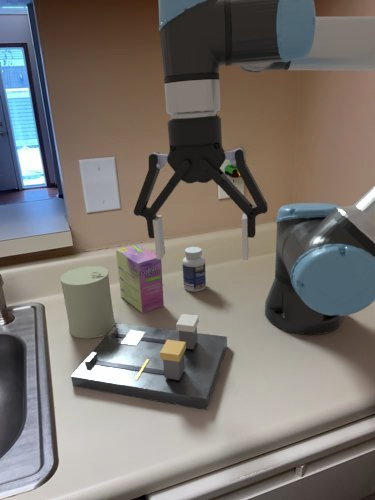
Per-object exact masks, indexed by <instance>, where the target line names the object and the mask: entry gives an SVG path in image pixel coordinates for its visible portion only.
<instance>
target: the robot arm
mask: <svg viewBox="0 0 375 500" xmlns="http://www.w3.org/2000/svg"><path fill="white" fill-rule="evenodd" d="M316 15H317V13H316V6H315V1H314V0H158V21H159V27H158V32H159V40H160V42H159V43H160V50H161V51H160V52H161V60H162V61H161V62H162V72H163V83H164V95H165V97H164V98H165V110H166V114H167V115H169V116H170V117H171V118H169V119H168V121H167V132H168V142H169V143H168V144H169V145H168V146H169V151H168V154H166V153H161V152H158V151H155V152H153V153H151V154H149V156H148V169H147V173H146V175H145V179H144V181H143V184H142V187H141V190H140V192H139V195H138V197H137V198H138V199H137V200H136V203H135V206H134V209H133V214H134V215H135V216H138V217H139V216H140V217H142V218H144V219H145V220H146V225H147V235H148V237H149V239H154V248H155V254H156V257H157V259H160V260H161V261H162V259H163V258H164V256H165V254H166V247H165V245H166V244H165V236H164V228H163V215H158V212H159V211H160V209H161V208H162V207H163V205H164V204H165V202H166V201H167V200H168V199H169V197H170V196H171V194H172V193H173V192H174V190H175V189H176V188H177V186H178V185H179V184H180V182H181V181H182V182H184V183H186V184H193V183H201V184H208V183H209V182H210V181H213V182H214V183H215V185H217V186H218V187H220V188H221V190H223V191H224V193H225V194H226V195H228V197H229V198H230V199H231V200H232V201H233V202H234V203H235V205H236V206H237V207H238V208H239V209H240V210H241V211H242V212H243V213H242V216H241V235H242V236H241V239H242V241H241V243H242V245H241V246H242V260H243V261H248V260H249V238H252V239H253V238H255V236H256V217H257V216H259V215H261V214H266V213H267V212H268V210H269V209H268V208H269V207H268V203H267V201H266V199H265V196H264V195H263V193H262V191H261V189H260V187H259V186H258V184H257V181H256V179H255V178H254V175H253V174H252V172H251V170H250V168H249V167H248V165H247V161H246V154H245V149H244V148H242V147H237V148H236V149H234V150H227V151H225V150H224V147H223V139H222V137H223V135H222V134H223V133H222V117H220V115H218V114H217V112H220V110H221V89H220V88H221V87H220V85H221V84H220V67H224V66H225V67H231V66H239V68H240V69H241V70H243V71H245V72H247V73H260V72H262V71H368V72H369V71H372V72H373V71H375V15H362V16H361V15H358V16H357V15H356V16H350V15H349V16H344V15H343V16H331V15H330V16H316ZM226 160H227V161H229V162H230V165H232V166H236V169H237V171H238V174H239V175H240V177H241V179H242V181H243V183H244V185H245V186H246V189H247V191H248V193H249V194H250V196H251V198H252V201H254V204H252V203H251V201H250V200H248V198H247V197H246V196H245V195H244V194H243V193H242V192H241V191H240V189H239V188H238V187H237V186H236V185H235V184H234V183H233V182H232V181H231V179H230V178H228V176H227V174H226V173H225V172H224V171H223V170H222V169H221V167H222V166H223V164H224V163H225V161H226ZM166 163H168V165H169V166H170V167H171V169H172V170H173V171H174V173H173V175H172V176H171V178H170V179H168V182H167V183H166V184H165V185H164V187H163V189H162V190H161V191H160V193H159V195H158V196H157V197H156V199H155V200H154V202H152V204H151V206H150V207H148V206H147V205H148V203H149V200H150V198H151V195H152V193H153V190H154V187H155V184H156V182H157V179H158V177H159V174H160V172H161V169H162V168H164V167H165V164H166ZM275 223H276V240H275V241H276V243H275V265H274V266H275V267H274V268H275V270H274V279H273V282H272V284H271V286H270V289H269V292H268V294H267V297H266V299H265V303H264V304H265V305H264V314H265V315H264V316H265V317H266V318H267V320H268V321H269V322H270V323H271V324H272V325H274V326H276V327H277V328H279V329H281V330H284V331H287V332H289V333H294V334H299V335H313V336H314V335H323V334H326V333H330V332H333V331H334V330H336V329H338V328H340V326H341V325H342V323H343V317H344V316H350V315H353V314H356V313H359V312H361V311H363V310H364V309H366V308H368V307H369V306H370V305H372V304H373V303H374V302H375V185H374V186H372V187H371V188H370V189H369V190H368V191H367V192H366V193H365V194H364V195H363V196H362V197H361V198H360V199H358V200H357V201H356V202H355V203H354V204H352V205H347V206H346V205H345V206H340V205H337V204H334V203H324V202H322V203H321V202H302V203H301V202H300V203H290V204H285V205H282V206H281V207H280V208H279V209H278V211H277V217H276V220H275Z"/></svg>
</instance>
